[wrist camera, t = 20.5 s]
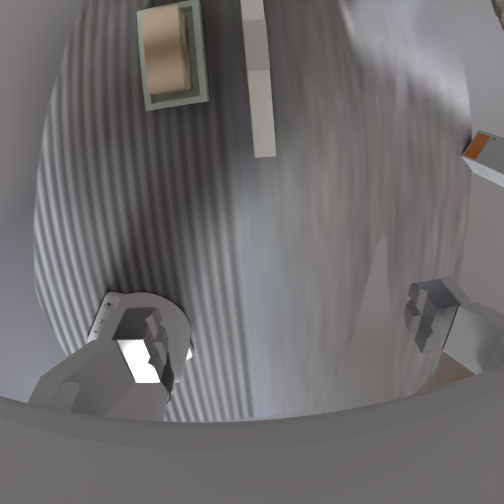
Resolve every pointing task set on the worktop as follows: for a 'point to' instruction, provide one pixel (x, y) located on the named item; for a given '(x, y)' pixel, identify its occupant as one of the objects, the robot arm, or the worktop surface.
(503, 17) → the long grey stone
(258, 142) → the door edge
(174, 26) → the bar
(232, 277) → the worktop surface
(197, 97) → the pale green tray
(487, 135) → the skincare box
